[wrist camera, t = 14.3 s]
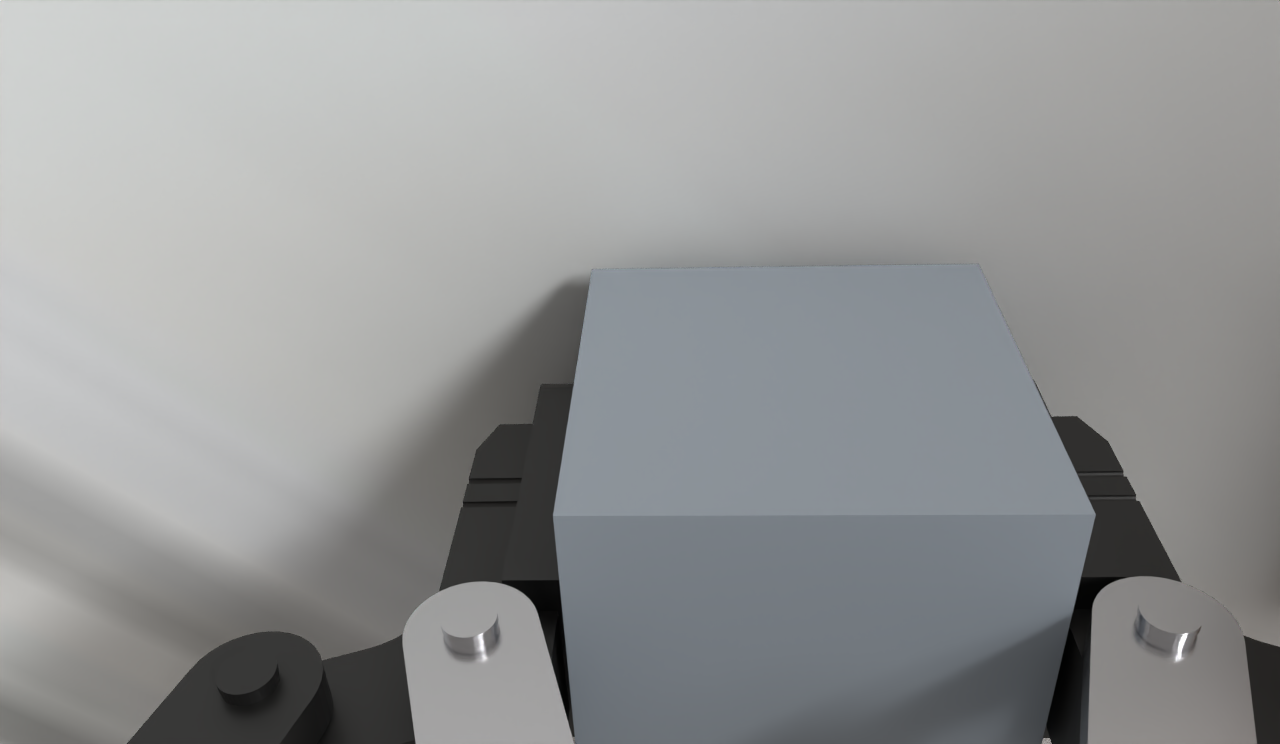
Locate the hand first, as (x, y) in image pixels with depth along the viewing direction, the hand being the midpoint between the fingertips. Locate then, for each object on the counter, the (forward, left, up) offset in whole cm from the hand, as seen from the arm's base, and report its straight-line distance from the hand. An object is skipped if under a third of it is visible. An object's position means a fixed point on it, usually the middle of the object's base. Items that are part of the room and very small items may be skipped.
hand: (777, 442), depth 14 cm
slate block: (0, 0, 0) cm, 0 cm away
